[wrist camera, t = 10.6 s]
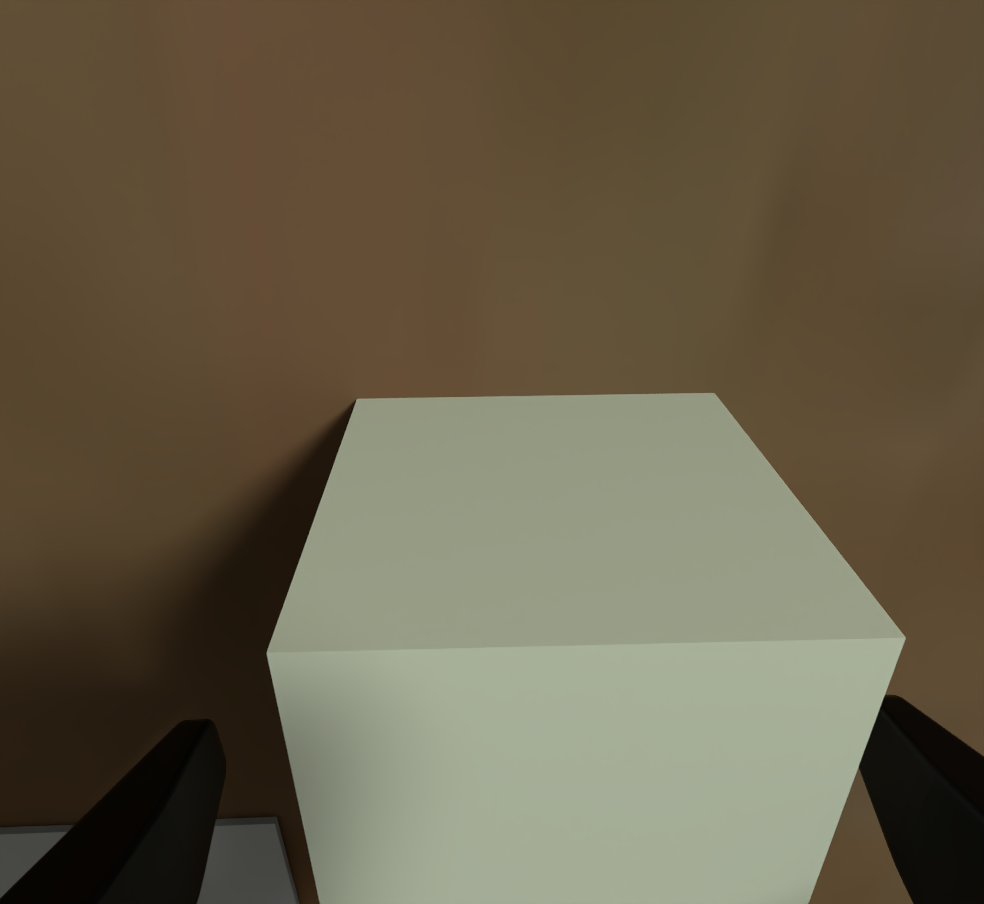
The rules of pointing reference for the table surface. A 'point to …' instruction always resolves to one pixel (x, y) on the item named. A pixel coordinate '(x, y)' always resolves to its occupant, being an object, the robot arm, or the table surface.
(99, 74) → the table surface
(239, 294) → the table surface
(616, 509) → the sage block
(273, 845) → the tile
